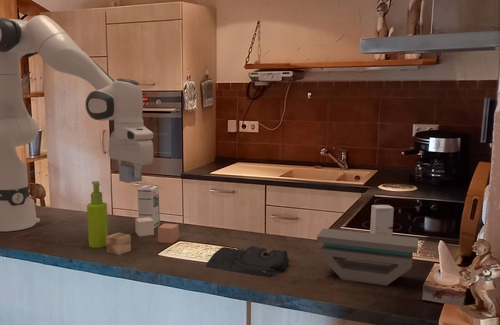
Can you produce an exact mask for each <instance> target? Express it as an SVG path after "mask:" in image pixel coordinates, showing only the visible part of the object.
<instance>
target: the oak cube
mask: <svg viewBox="0 0 500 325" xmlns="http://www.w3.org/2000/svg"><path fill="white" fill-rule="evenodd" d="M131 238H132V237H131V234H128V233H124V232H116V233H113V234H108V236H106V242H107V246H106V253H108V254H113V255H116V256H120V255H123V254H126V253H129V252H132V244H131V243H132V240H131Z"/></svg>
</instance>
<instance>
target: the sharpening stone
mask: <svg viewBox="0 0 500 325" xmlns="http://www.w3.org/2000/svg"><path fill="white" fill-rule="evenodd" d="M316 242H317V243H324V244H323V245H322V246H321V248H320V258H321V259H322V260H323V261H324V262H325V263H326V264H327V266H329V268H331V270H332V271H333V272H334V273H335V274H336V275H337V276H338V277H339V278H340V279H341V280H344V281H352V282H357V283H358V282H360V283H366V284H374V285H381V286H388V285H390V284H391V283H392V282H394V281H395V280H397V279H398V278H400V277H401V276H403V275H404V274H405V273H407V272H408V271H410V270H411V269H412V265H413V259H414V254H418V248H419V238H418V237H411V236H410V237H408V236H401V235H400V236H399V235H393V234H392V235H382V234H372V233H370V232H362V231H361V232H360V231H351V230H343V229H342V230H341V229H334V228H333V229H332V228H322V229H321V231H320V232H318V234H317V236H316Z"/></svg>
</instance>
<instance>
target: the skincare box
mask: <svg viewBox="0 0 500 325" xmlns="http://www.w3.org/2000/svg"><path fill="white" fill-rule="evenodd" d="M394 211H395V207H393V206H391V205H390V204H372V205H371V211H370V212H371V213H370V228H369V233H372V234H382V235H392V236H393V227H394V213H395V212H394Z"/></svg>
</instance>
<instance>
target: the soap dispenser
mask: <svg viewBox="0 0 500 325" xmlns="http://www.w3.org/2000/svg"><path fill="white" fill-rule="evenodd" d="M91 184H92V187H93V188H92V189H93V192H91V193H90V203H87V205H86V207H87V208H86V211H87V234H88V235H87V236H88V247H89V248H94V249H99V248H104V247H107V242H106V236H109V226H108V225H109V224H108V222H109V221H108V204H107V203H106V202H103V201H104V200H103V192H101V191H100V185H101V184H100V182H99V180H98V181H91Z"/></svg>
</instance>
